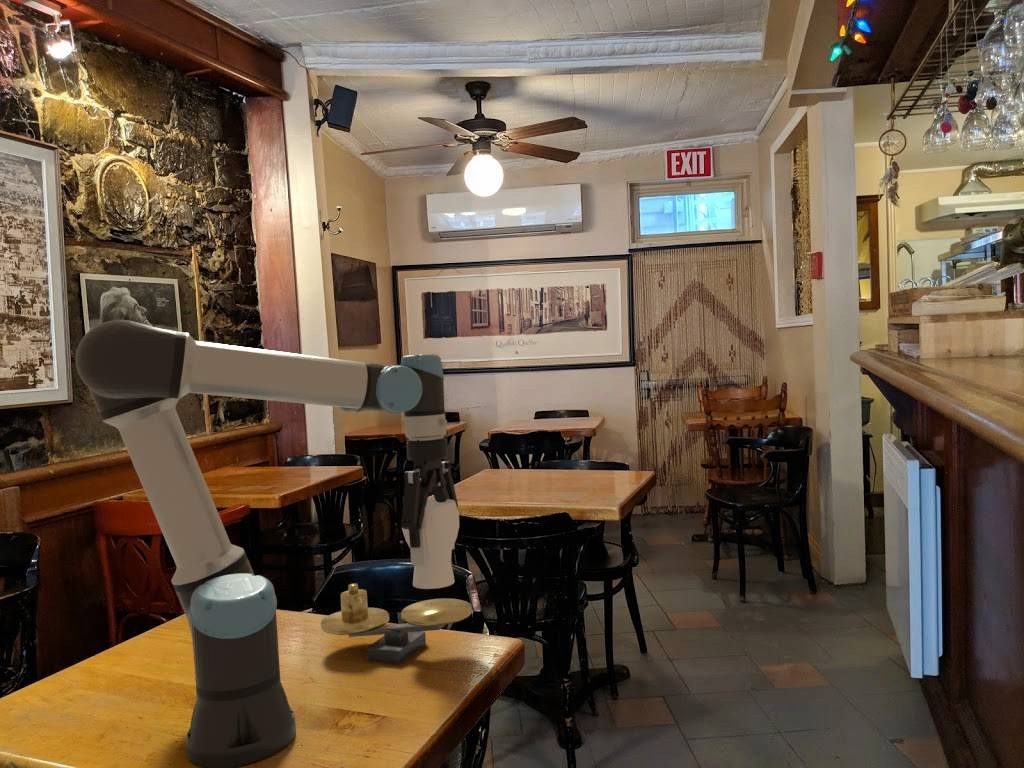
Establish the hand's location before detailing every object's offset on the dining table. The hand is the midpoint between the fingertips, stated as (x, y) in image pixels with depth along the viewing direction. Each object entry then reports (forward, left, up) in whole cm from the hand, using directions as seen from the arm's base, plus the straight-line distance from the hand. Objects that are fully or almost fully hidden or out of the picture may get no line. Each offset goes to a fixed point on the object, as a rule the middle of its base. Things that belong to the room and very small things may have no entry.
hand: (433, 556), depth 136 cm
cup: (0, 0, -5) cm, 5 cm away
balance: (0, +9, -19) cm, 21 cm away
